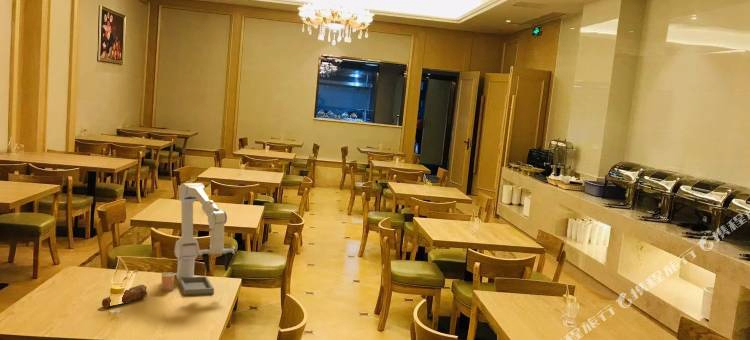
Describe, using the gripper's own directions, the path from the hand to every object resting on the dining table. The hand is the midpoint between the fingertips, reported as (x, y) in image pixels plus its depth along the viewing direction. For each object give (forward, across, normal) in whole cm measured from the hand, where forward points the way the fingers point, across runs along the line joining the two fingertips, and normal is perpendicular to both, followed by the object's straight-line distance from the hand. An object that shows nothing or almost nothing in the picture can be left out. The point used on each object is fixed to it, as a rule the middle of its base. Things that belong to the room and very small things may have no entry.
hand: (216, 271), depth 270 cm
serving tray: (+9, -7, +10) cm, 16 cm away
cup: (+9, -19, +10) cm, 23 cm away
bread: (+10, -37, -4) cm, 38 cm away
